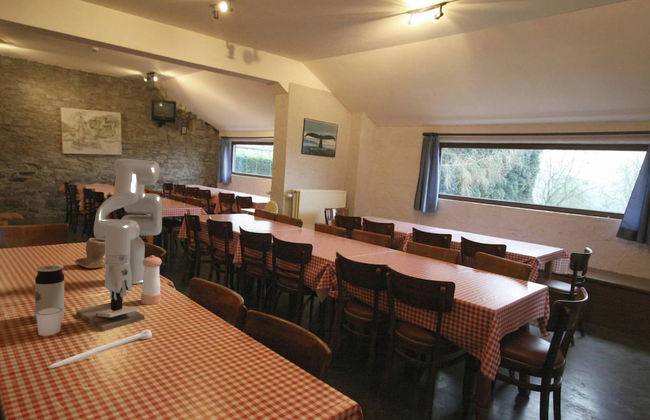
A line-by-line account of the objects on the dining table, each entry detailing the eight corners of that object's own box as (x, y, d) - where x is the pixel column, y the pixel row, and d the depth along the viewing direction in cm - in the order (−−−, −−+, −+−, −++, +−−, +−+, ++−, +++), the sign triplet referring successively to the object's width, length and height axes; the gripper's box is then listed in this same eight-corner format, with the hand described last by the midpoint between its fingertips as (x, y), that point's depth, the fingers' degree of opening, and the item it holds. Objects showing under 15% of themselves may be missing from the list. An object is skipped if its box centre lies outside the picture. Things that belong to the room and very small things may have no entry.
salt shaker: (164, 300, 149) (166, 255, 147) (149, 305, 143) (151, 258, 141) (152, 297, 152) (153, 252, 150) (136, 302, 146) (138, 255, 144)
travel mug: (61, 311, 131) (62, 263, 129) (65, 318, 125) (66, 268, 124) (33, 316, 125) (33, 266, 124) (36, 324, 120) (37, 271, 118)
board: (76, 314, 130) (76, 310, 129) (116, 304, 141) (116, 301, 141) (102, 331, 118) (102, 327, 118) (144, 319, 130) (144, 315, 130)
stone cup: (112, 267, 190) (112, 239, 188) (86, 271, 180) (87, 241, 179) (98, 261, 198) (99, 235, 197) (73, 265, 189) (74, 237, 187)
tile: (109, 313, 120) (110, 317, 120) (136, 306, 128) (136, 310, 128) (96, 312, 126) (96, 316, 126) (122, 306, 134) (122, 309, 134)
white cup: (67, 330, 118) (68, 309, 117) (45, 338, 111) (45, 316, 110) (53, 325, 120) (53, 305, 119) (30, 333, 113) (30, 312, 113)
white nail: (53, 374, 94) (53, 364, 93) (46, 369, 96) (46, 358, 96) (154, 338, 117) (154, 330, 117) (147, 334, 119) (147, 326, 119)
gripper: (139, 261, 124) (138, 312, 126) (118, 253, 132) (117, 301, 134) (117, 264, 118) (115, 318, 119) (96, 256, 126) (95, 306, 128)
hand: (116, 309), depth 127 cm, fingers closed
